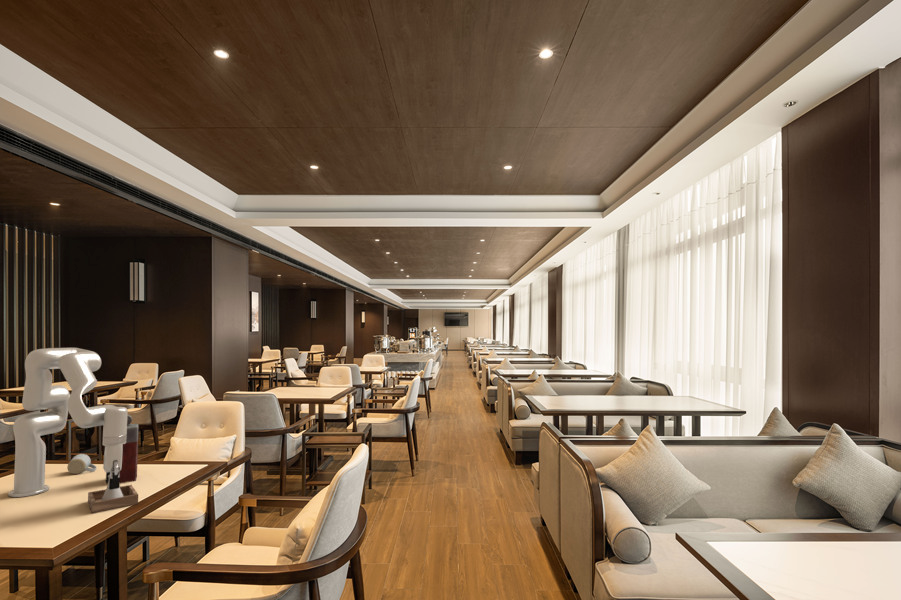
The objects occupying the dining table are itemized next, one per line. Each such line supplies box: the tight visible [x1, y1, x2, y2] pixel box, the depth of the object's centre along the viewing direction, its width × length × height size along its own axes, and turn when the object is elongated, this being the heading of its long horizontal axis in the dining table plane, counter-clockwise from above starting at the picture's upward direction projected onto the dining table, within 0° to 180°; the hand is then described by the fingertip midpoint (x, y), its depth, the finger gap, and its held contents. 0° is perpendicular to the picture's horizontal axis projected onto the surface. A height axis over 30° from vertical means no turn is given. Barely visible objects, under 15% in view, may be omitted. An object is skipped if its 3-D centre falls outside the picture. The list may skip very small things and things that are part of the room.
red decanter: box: [119, 414, 140, 484], centre depth 217 cm, size 9×11×28 cm
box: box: [87, 484, 139, 514], centre depth 186 cm, size 16×14×4 cm
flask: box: [101, 475, 124, 501], centre depth 187 cm, size 7×7×10 cm
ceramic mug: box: [67, 453, 97, 475], centre depth 228 cm, size 11×8×8 cm
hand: (112, 485), depth 187 cm, fingers open, 9 cm apart
